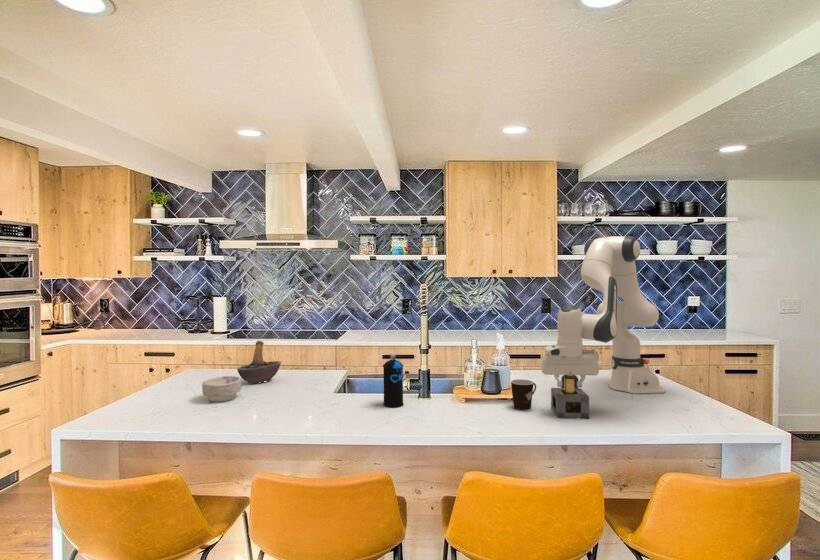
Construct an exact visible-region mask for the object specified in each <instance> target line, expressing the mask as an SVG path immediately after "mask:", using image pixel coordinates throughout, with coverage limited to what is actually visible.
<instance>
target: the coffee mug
mask: <svg viewBox="0 0 820 560" xmlns="http://www.w3.org/2000/svg"><path fill="white" fill-rule="evenodd" d="M510 386H511V393H512V403H513V408H514V409H515V410H518V411H519V410H520V411H529V410H531V408H532V400H533V395H534V394H535V392H536V389H537V384H536V383H535V382H534V381H532V380H529V379H524V378H523V379H521V378H519V379H512V380H511V381H510Z"/></svg>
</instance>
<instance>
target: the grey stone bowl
mask: <svg viewBox="0 0 820 560" xmlns="http://www.w3.org/2000/svg"><path fill="white" fill-rule="evenodd" d="M201 386H202V388H201V389H202V395H203V396H204V397H205V396H206V397H207V399H208V400H209V401H210V402H216V403H218V402H220V403H221V402H227V401H230V400H233V399H234V398H236V396H237V395H238V393H240V392H241V391H242V388H243V386H242V378H241V376H236V375H234V376H233V375H228V376H227V375H226V376H217V377H213V378H208V379H206V380H204V381H203V382H202V385H201Z"/></svg>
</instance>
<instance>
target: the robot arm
mask: <svg viewBox="0 0 820 560" xmlns="http://www.w3.org/2000/svg"><path fill="white" fill-rule="evenodd" d="M583 253H584V258H583V261H582V265H581V268H580V277H581V280H582V281H583V282H584V284H586V285H587V286H588V287H590V288H591V289H594V290H596V291H599V292H601V293H602V294H603V300H602V302H601V303H599V305H598V306H597V308H596V309H597V310H596V314H592V313H586V312H585V313H584V312H583V311H582V309H581V307H580V306H578V305H572V304H571V305H570V304H569V305H563V306H562V307H560V308H559V311H558V315H557V323H556V324H557V325H556V327H557V328H556V329H557V340H556V341H557V342H556V343H555V344H552V345H548V346H544V354H543V356H542V359H541V366H540V367H541V368H540V369H541V370H540V371H541V372H542V373H543V375H548V376H550V375H551V376H552V375H553V376H554V378H555V381H556V385H557V388H561V387H562V381H561V380H559V378H560V376H563V375H568V374H569V372H572V374H573V375H576V376H579V377H580V379H579V381H577V387H578V388H583V382H584V381H585V380H586V376H598V374H599V373H600V369H599V362H598V361H599V359H600V355H599V353H598V351H596V350H595V349H583V339H584V340H590V341H591V340H592V341H596V342H600V343H605V344H606V343H609V342H610V341H612V342H611V343H612V355H611V369H612V370H611V375H610V380H609V384H608V387H609V388H610V389H612V390H616V391H620V392H626V393H629V394H660V393H663V394H664V393H666V388H665V387H664V386H663V385H660V380H659V377H658V376H657V375H656V373H654V372H653V371H652V370H650V369H649V368H648V367H647V366H645V365H648V364H649V363H650V362H649V360H648V359H646V358H642V357H641V341H640V339H639V338H638V336H636V335H634V334H632V332H630V330H629V329H628V327H634V328H636V327H637V328H647V327H648V328H650V327H653V326H655V325H656V324H657V323H658V322H659V319H660V314H659V313H660V312H659V309H658V307H656V306H655V305H654V304H653V303H652V302H650V301H649V300H648V299H646V297H645V296H644V294H642V292H641V289H640V286H639V283H638V282H639V281H638V274H637V265H636V260H637V259H638V258H639V256H640V254H641V243H640V241H639V239H637V238H636V237H635V236H631V235H630V236H629V235H626V236H619V235H618V236H617V235H613V236H612V235H611V236H605V237H599V238H597V237H594V238H591V239H589V240H588V241H586V243H585V244H584V249H583ZM618 297H620V298H621V299H622V300H621V301H620V300H618Z"/></svg>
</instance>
